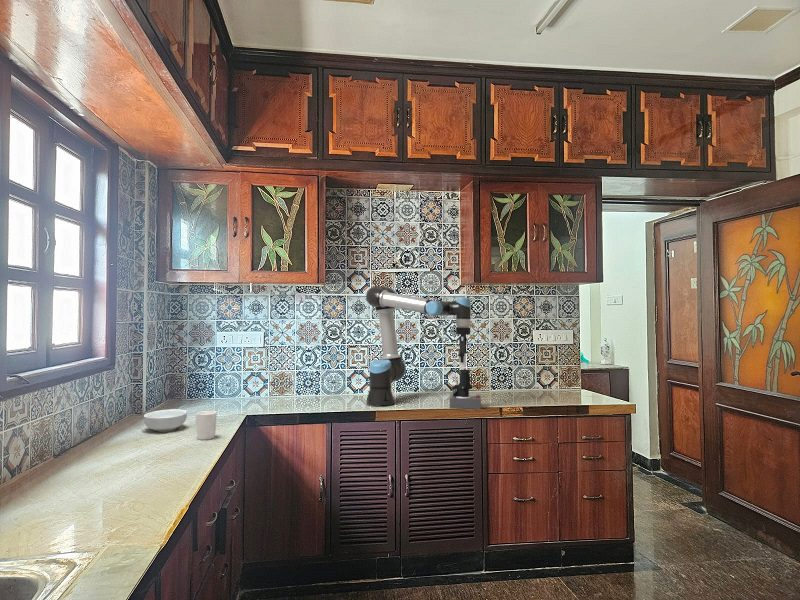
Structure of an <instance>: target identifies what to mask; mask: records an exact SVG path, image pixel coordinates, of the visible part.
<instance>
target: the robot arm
mask: <svg viewBox="0 0 800 600" xmlns="http://www.w3.org/2000/svg"><path fill="white" fill-rule="evenodd" d="M365 300H366V302H367V304H369V305H370V306H371V307H374V309H375V312H376V313H377V314H378V319H379V320H378V321H379V328H380V337H381V339H380V340H381V347H382V357H381V358H380V359H378V360H377V359H376V360H373V361H371V362H370V363H369V369H368V370H369V390H368V395H367V396H366V402H365V403H367V404H369V405H368V406H370V405H390V406H393V405H395V397H394V395H393V391H392V383H393V382H397V381H400V380H401V379H402V378H404V376H405V374H406V373H407V366H406V363H405V362H404V361H403V359H402V356H401V355H400V354H399V348H398V340H397V339H398V338H397V332H396V324H395V315H394V314H395V313H394V312H395V311H396V309H400V310H405V311H412V312H416V313H422V314H427V315H429V316H432V317H436V316H439V317H440V316H455V317H456V318H455V326H456V328H455V333H456V335H458V336H459V335H460V336H459V338H458V341H459V344H458V345H459V353H458V354H457V356H458V357H459V359H458V361H459V362H458V365H459V366H458V367H459V368H458V369H459V370H466V369H465V367H467V354H468V351H467V345H468V344H467V343H468V338H467V336H468V335H471V323H473V322H472V320H471V318H472V317H471V311H472V304H471V302H472V301H471V299H470V298H469V297H456V300H455V301H449V300H448V301H445V300H434V299H427V298H421V297H417V296H410V295H405V294H399V293H397V291H396V290H395V289H393V288H392V287H389V286H379V285H376V286H372V287H370V288H369V289H368V290H367V292H366V294H365ZM367 404H366V405H367ZM392 404H393V405H392Z"/></svg>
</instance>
